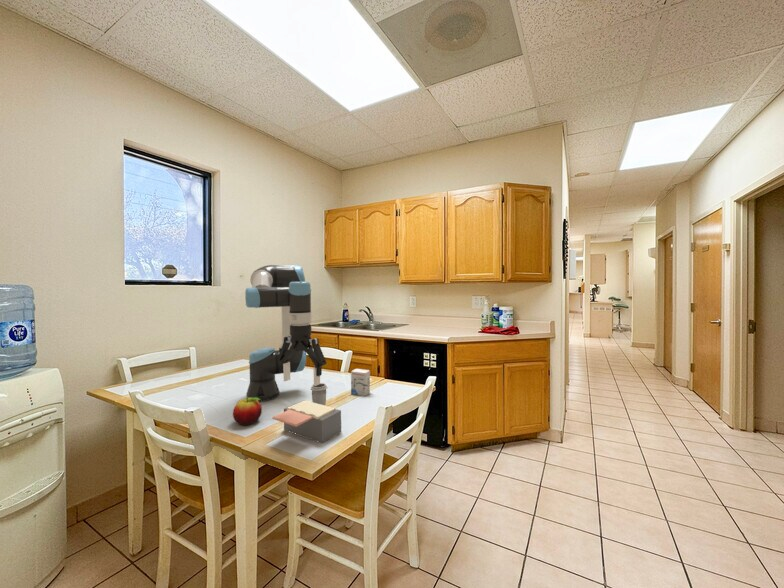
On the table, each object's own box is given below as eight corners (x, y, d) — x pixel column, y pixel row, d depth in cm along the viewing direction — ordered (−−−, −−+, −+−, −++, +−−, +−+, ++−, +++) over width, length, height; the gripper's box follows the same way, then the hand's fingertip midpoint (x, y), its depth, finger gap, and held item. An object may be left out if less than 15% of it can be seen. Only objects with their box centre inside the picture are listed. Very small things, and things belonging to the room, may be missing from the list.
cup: (312, 416, 137) (311, 388, 136) (309, 411, 143) (309, 384, 142) (329, 414, 140) (328, 386, 139) (325, 408, 146) (325, 381, 145)
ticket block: (284, 429, 125) (283, 406, 125) (303, 420, 134) (303, 398, 133) (322, 443, 115) (322, 417, 114) (341, 431, 123) (340, 408, 123)
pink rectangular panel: (272, 418, 116) (272, 416, 116) (289, 411, 122) (289, 409, 122) (296, 426, 109) (296, 424, 109) (312, 418, 116) (312, 416, 116)
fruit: (241, 416, 138) (240, 393, 137) (266, 416, 137) (266, 393, 137) (227, 428, 127) (227, 402, 126) (255, 428, 127) (254, 403, 126)
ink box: (350, 394, 164) (350, 370, 163) (355, 390, 168) (355, 368, 168) (365, 396, 161) (365, 372, 160) (370, 393, 165) (370, 370, 165)
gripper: (266, 324, 119) (267, 381, 120) (322, 327, 109) (324, 389, 110) (281, 321, 126) (282, 376, 127) (335, 324, 116) (336, 383, 117)
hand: (301, 382), depth 118 cm, fingers open, 13 cm apart
